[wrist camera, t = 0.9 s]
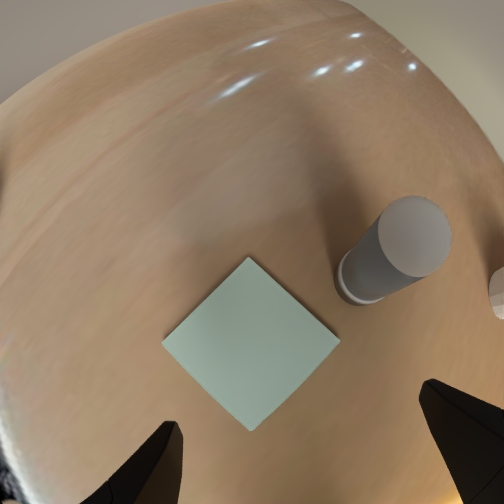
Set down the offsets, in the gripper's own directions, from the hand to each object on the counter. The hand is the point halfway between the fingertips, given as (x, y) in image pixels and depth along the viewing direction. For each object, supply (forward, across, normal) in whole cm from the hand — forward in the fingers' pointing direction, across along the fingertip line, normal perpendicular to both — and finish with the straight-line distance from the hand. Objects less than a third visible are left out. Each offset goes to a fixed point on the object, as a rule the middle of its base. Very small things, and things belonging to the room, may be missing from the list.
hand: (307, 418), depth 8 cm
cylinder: (+15, -7, +2) cm, 17 cm away
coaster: (+12, +2, +5) cm, 14 cm away
